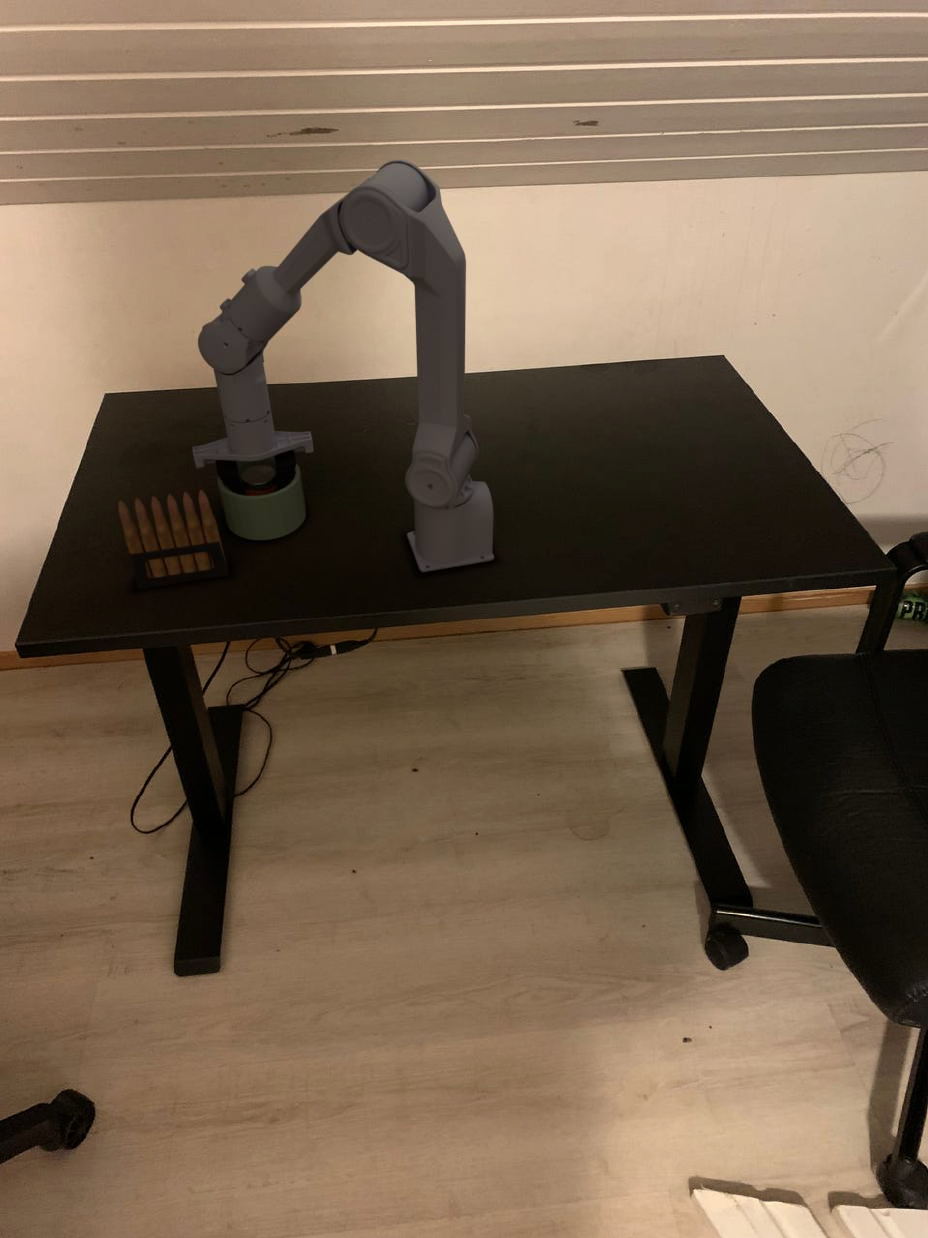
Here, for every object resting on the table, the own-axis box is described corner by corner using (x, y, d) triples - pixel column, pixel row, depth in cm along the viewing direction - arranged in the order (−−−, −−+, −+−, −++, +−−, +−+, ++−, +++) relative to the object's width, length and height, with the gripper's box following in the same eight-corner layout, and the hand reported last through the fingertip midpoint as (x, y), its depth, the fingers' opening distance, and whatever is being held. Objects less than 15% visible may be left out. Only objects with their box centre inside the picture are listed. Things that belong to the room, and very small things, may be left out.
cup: (300, 489, 119) (294, 448, 115) (311, 533, 112) (305, 491, 108) (224, 500, 117) (214, 459, 113) (229, 546, 110) (219, 503, 106)
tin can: (280, 501, 116) (274, 462, 112) (284, 519, 113) (277, 481, 109) (247, 505, 115) (239, 467, 111) (250, 525, 112) (242, 486, 108)
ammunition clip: (228, 565, 107) (209, 484, 99) (229, 575, 106) (209, 493, 98) (138, 579, 105) (111, 497, 97) (138, 588, 104) (110, 506, 96)
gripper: (302, 388, 108) (314, 479, 118) (183, 402, 106) (205, 495, 115) (310, 415, 103) (322, 508, 113) (185, 431, 101) (208, 525, 110)
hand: (264, 504), depth 113 cm, fingers closed on tin can, 4 cm apart
